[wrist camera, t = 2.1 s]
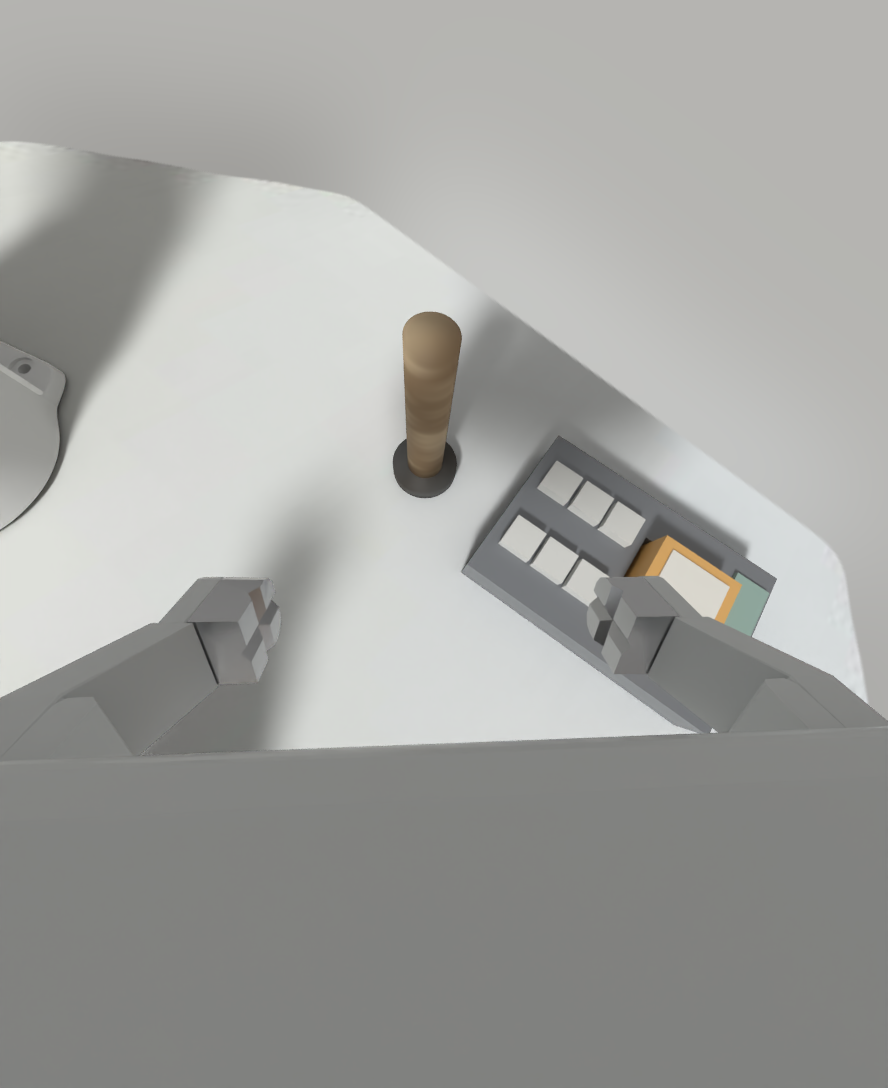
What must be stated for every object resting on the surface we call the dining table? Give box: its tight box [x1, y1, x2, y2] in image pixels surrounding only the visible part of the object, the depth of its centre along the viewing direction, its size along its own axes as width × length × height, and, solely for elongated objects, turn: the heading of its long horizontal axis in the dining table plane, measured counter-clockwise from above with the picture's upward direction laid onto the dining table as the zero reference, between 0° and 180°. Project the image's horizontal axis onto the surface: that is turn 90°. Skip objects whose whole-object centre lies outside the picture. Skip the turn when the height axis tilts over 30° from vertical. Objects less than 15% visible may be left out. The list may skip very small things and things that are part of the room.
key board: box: [462, 436, 777, 733], centre depth 25 cm, size 18×12×4 cm, turn 54°
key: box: [624, 535, 742, 624], centre depth 24 cm, size 5×5×3 cm
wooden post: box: [393, 312, 462, 498], centre depth 22 cm, size 5×5×13 cm
